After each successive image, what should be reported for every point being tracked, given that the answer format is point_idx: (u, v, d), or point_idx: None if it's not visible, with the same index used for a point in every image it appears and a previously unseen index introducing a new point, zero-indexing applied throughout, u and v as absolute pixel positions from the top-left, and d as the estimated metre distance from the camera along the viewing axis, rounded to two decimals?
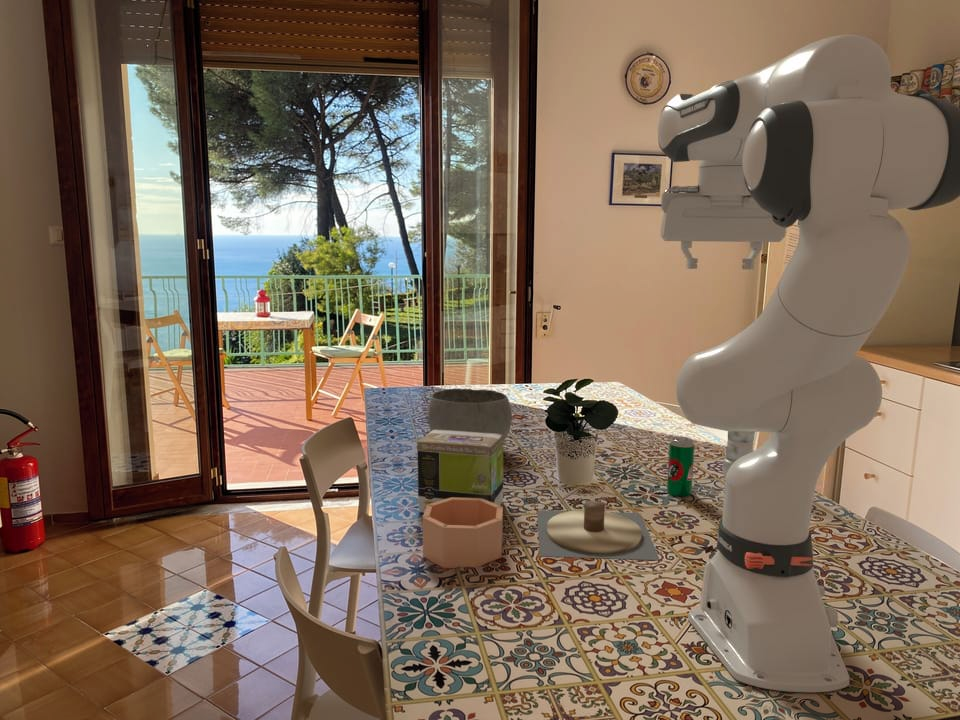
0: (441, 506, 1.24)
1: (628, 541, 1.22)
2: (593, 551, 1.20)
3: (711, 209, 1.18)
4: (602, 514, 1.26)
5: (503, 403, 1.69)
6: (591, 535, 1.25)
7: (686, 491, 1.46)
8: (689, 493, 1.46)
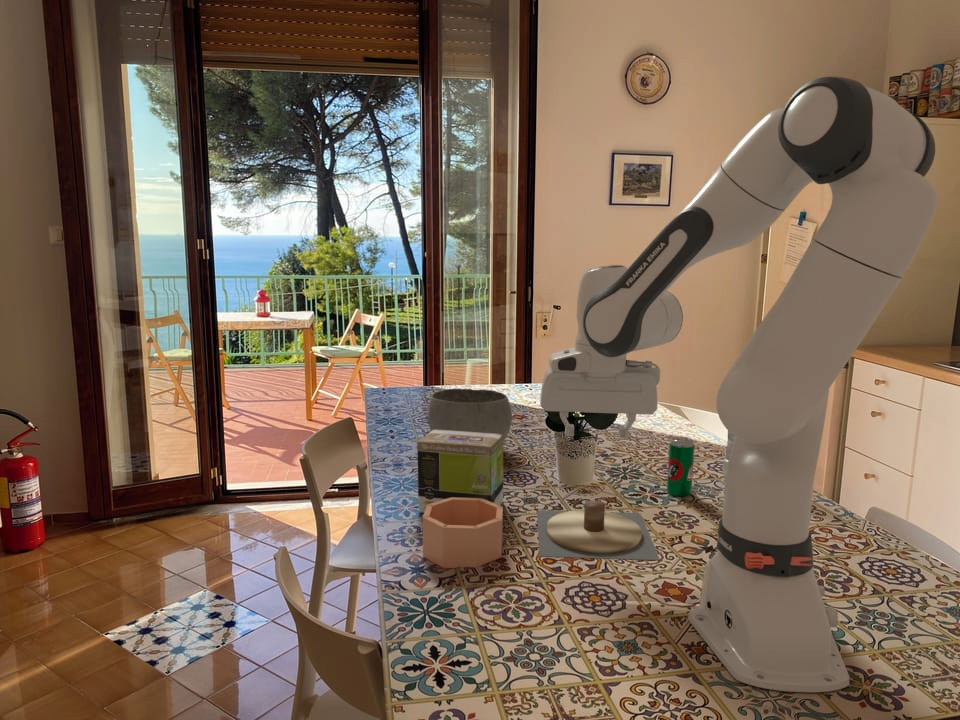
0: (441, 506, 1.24)
1: (628, 541, 1.22)
2: (593, 551, 1.20)
3: None
4: (602, 514, 1.26)
5: (503, 403, 1.69)
6: (591, 534, 1.25)
7: (686, 491, 1.46)
8: (689, 493, 1.46)
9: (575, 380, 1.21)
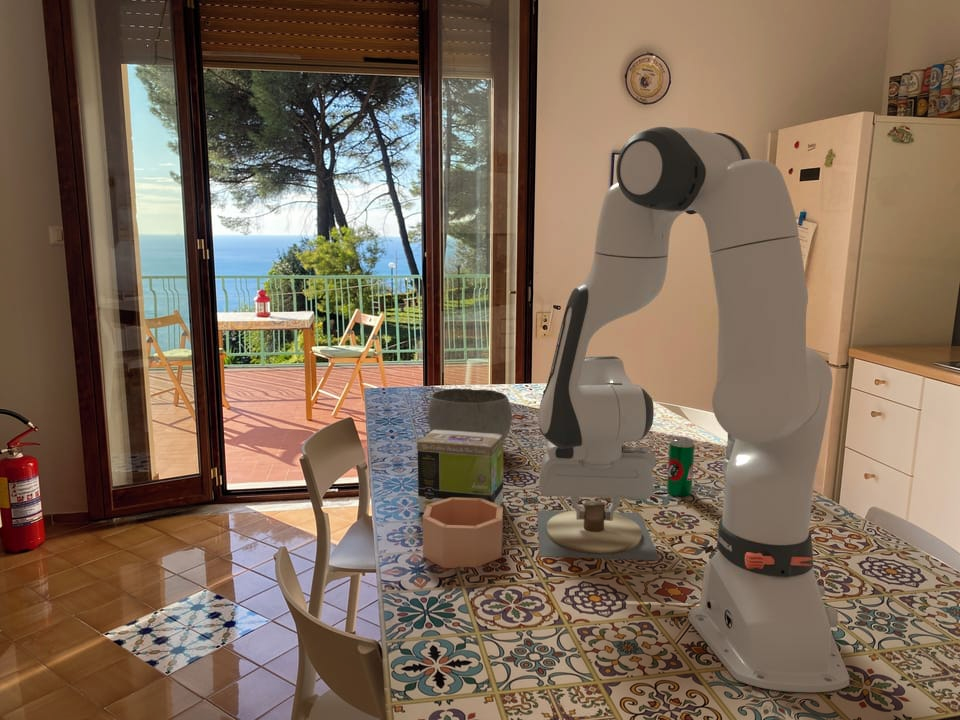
0: (441, 506, 1.24)
1: (628, 541, 1.22)
2: (593, 551, 1.20)
3: None
4: (602, 514, 1.26)
5: (503, 403, 1.69)
6: (591, 534, 1.25)
7: (686, 491, 1.46)
8: (689, 493, 1.46)
9: (572, 466, 1.24)
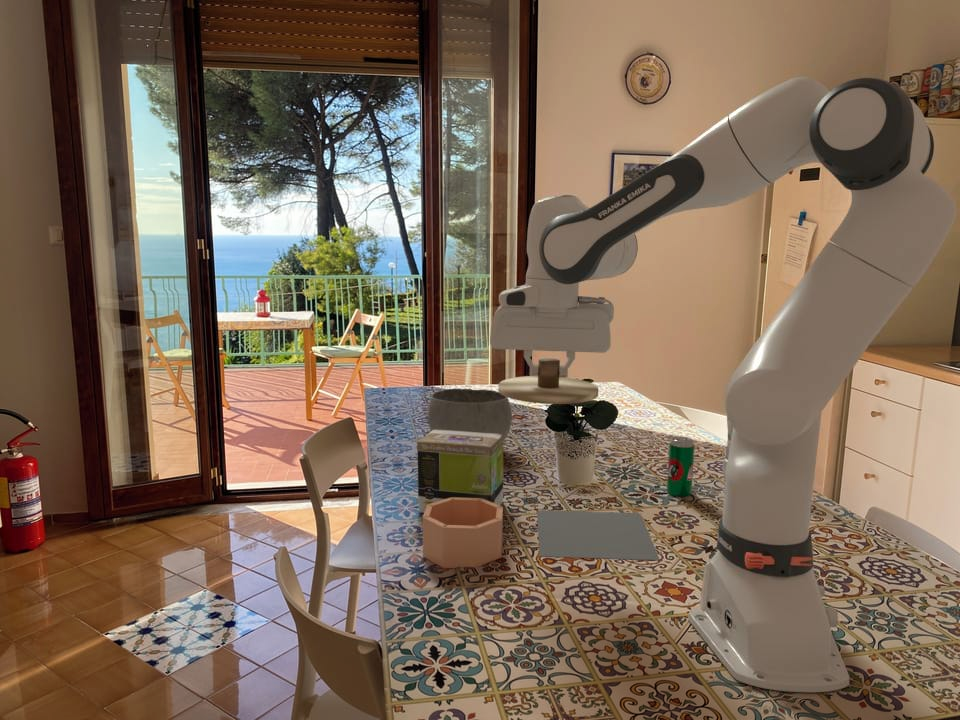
0: (441, 506, 1.24)
1: (582, 394, 1.15)
2: (543, 400, 1.13)
3: None
4: (556, 369, 1.19)
5: (503, 403, 1.69)
6: (544, 389, 1.18)
7: (686, 491, 1.46)
8: (689, 493, 1.46)
9: (525, 316, 1.17)
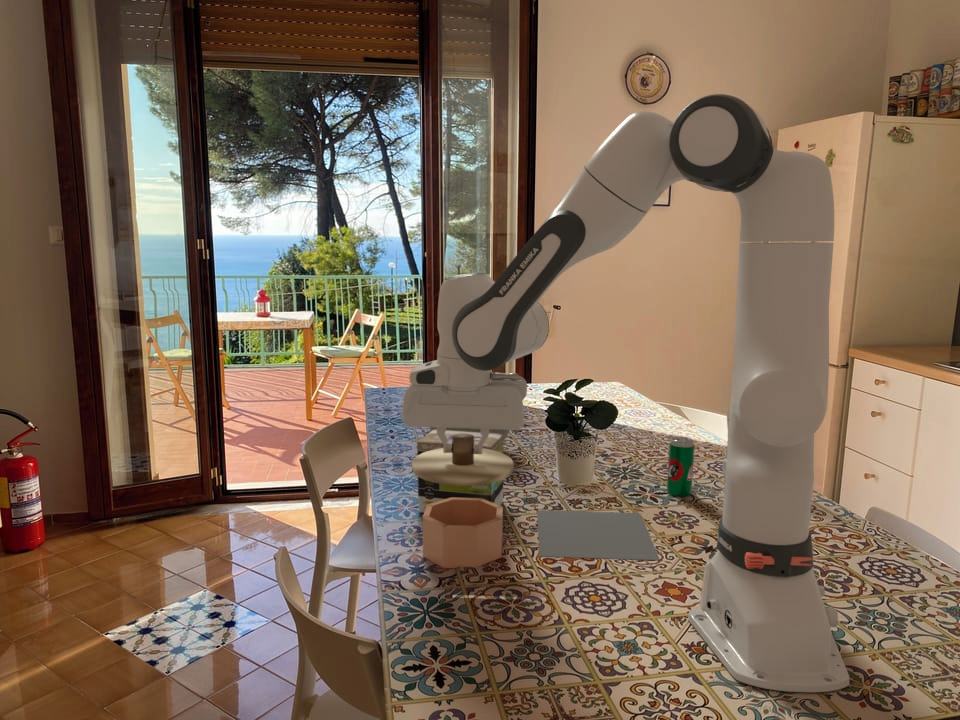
0: (441, 506, 1.24)
1: (494, 473, 1.13)
2: (453, 482, 1.11)
3: None
4: (470, 446, 1.17)
5: None
6: (457, 467, 1.16)
7: (686, 491, 1.46)
8: (689, 493, 1.46)
9: (436, 394, 1.15)
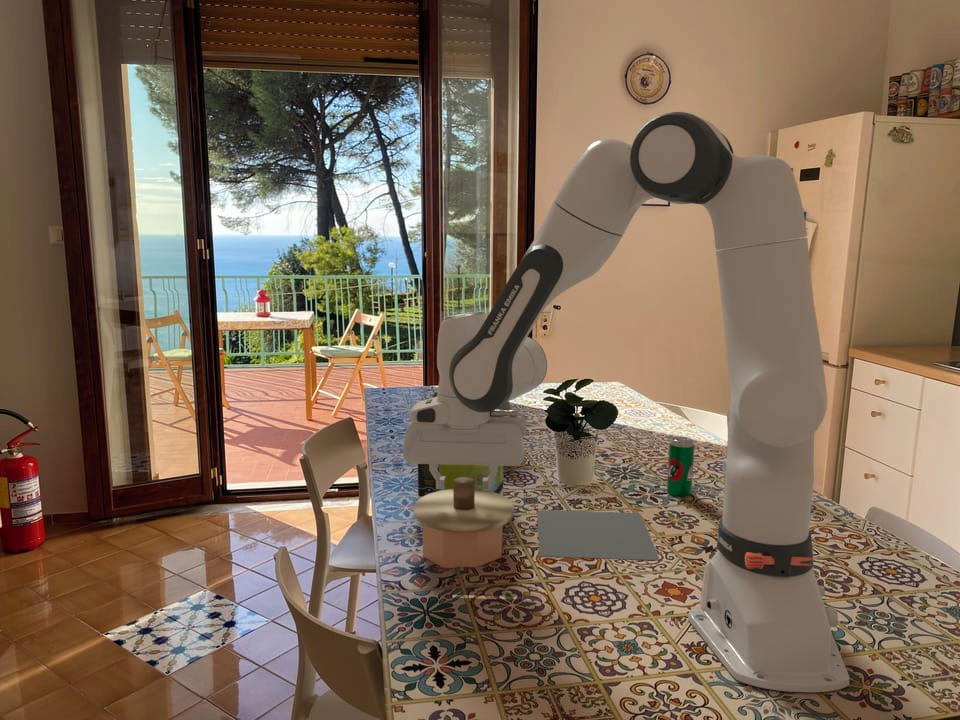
0: None
1: (495, 519, 1.15)
2: (454, 529, 1.12)
3: None
4: (471, 491, 1.18)
5: None
6: (458, 513, 1.17)
7: (686, 491, 1.46)
8: (689, 493, 1.46)
9: (436, 431, 1.16)
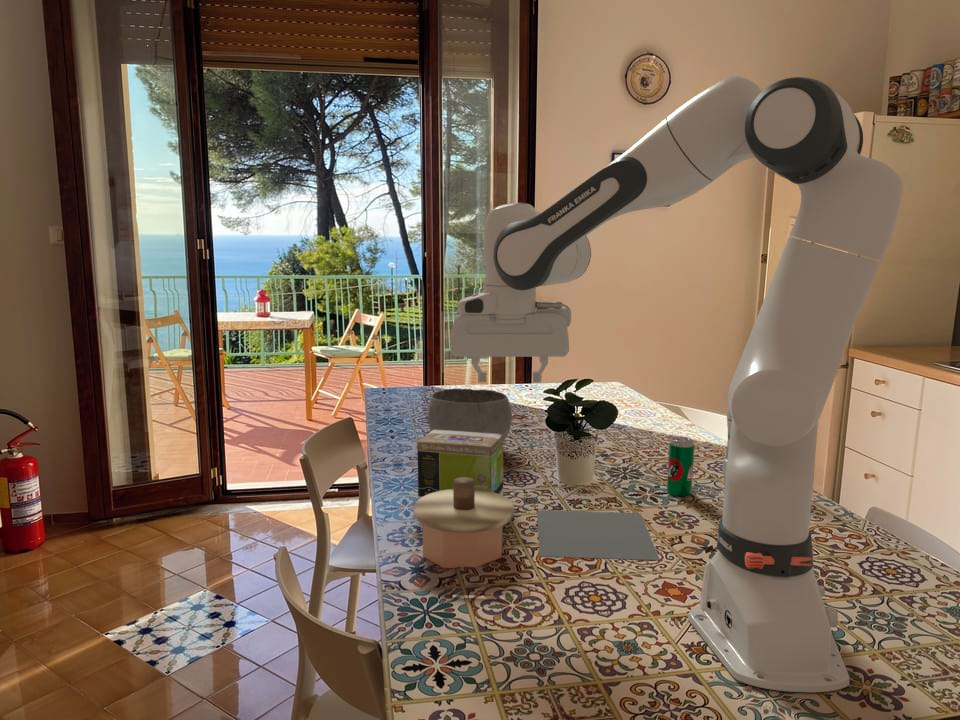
0: None
1: (495, 519, 1.15)
2: (454, 529, 1.12)
3: None
4: (471, 491, 1.18)
5: (503, 403, 1.69)
6: (458, 513, 1.17)
7: (686, 491, 1.46)
8: (689, 493, 1.46)
9: (484, 323, 1.18)
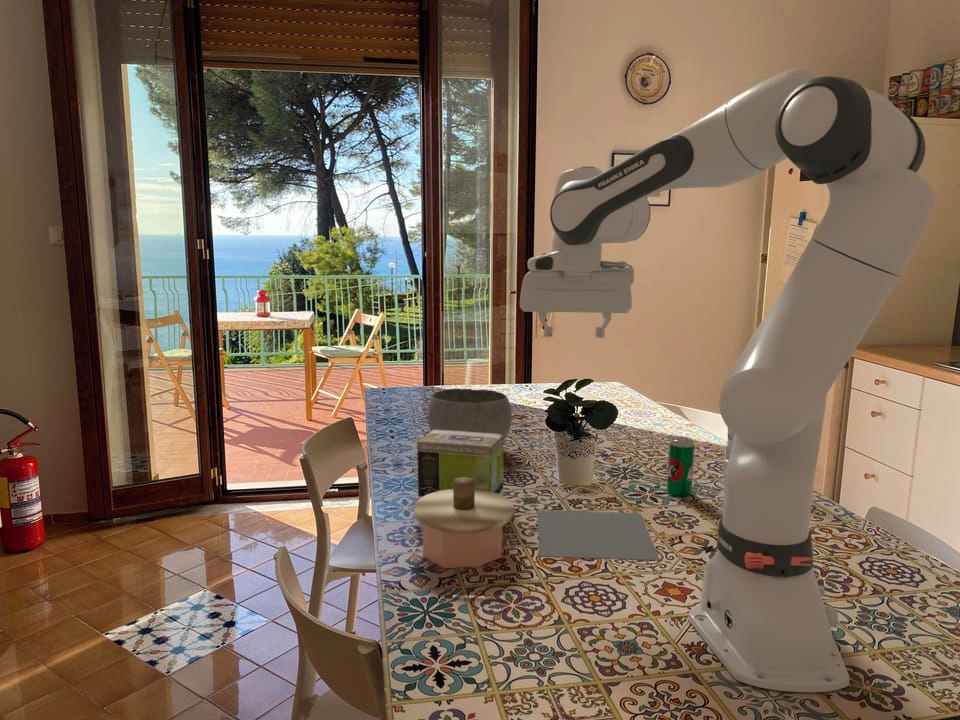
0: None
1: (495, 519, 1.15)
2: (454, 529, 1.12)
3: None
4: (471, 491, 1.18)
5: (503, 403, 1.69)
6: (458, 513, 1.17)
7: (686, 491, 1.46)
8: (689, 493, 1.46)
9: (552, 280, 1.26)
